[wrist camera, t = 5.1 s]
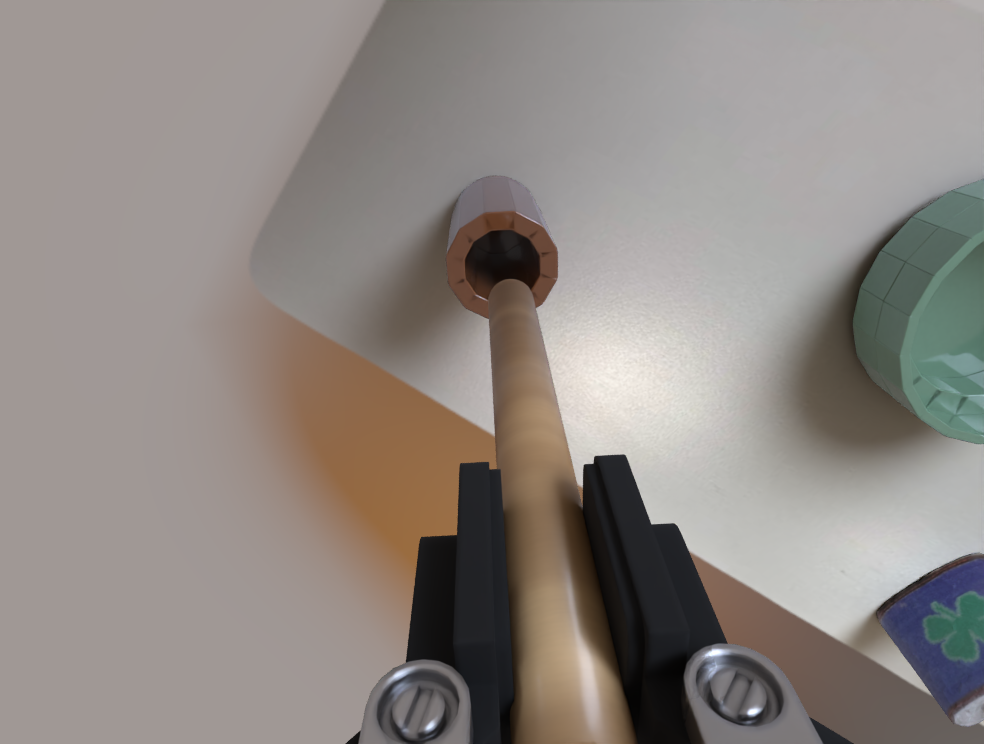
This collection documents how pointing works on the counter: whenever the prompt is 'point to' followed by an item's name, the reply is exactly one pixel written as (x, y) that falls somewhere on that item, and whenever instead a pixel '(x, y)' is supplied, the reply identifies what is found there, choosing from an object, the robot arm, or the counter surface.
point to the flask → (944, 635)
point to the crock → (498, 243)
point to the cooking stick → (547, 550)
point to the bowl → (930, 315)
